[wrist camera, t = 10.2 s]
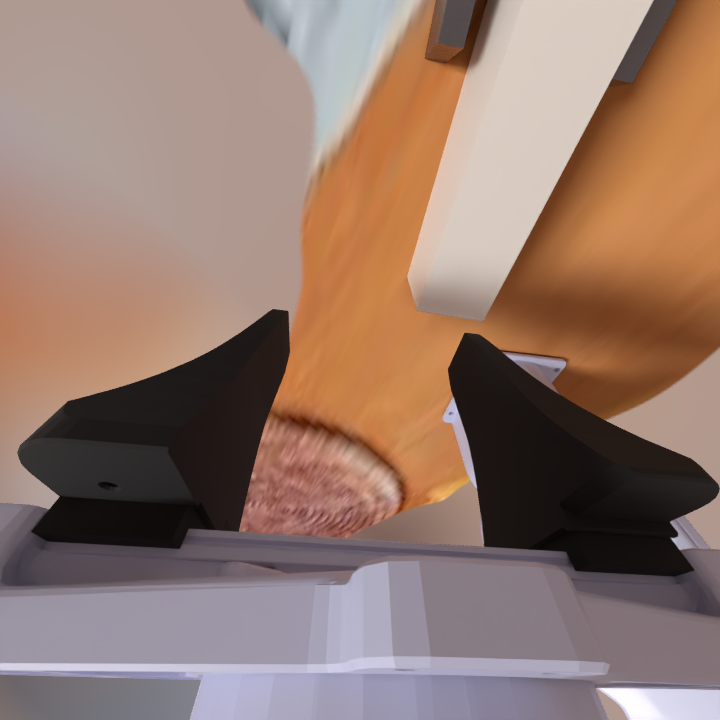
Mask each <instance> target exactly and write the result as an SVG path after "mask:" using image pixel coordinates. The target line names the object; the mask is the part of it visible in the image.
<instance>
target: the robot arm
mask: <svg viewBox="0 0 720 720" xmlns="http://www.w3.org/2000/svg"><path fill="white" fill-rule="evenodd" d="M289 353H290V343H289V316H288V311H284V310H276V309H272V310H271V311H269V312H268V313H267V314H265V315H264V316H263V317H261V318H260V319H259V320H257V321H256V322H255V323H253V324H252V325H251V326H249V327H248V328H246V329H245V330H244V331H242V332H241V333H239V334H238V335H236V336H234V337H233V338H232V339H230V340H228V341H227V342H225V343H223V344H222V345H220V346H218V347H217V348H215V349H213V350H211V351H210V352H208V353H206V354H204V355H202V356H200V357H198V358H196V359H194V360H192V361H189V362H187V363H185V364H182V365H180V366H177V367H175V368H173V369H171V370H168V371H166V372H164V373H161V374H158V375H155V376H152V377H150V378H147V379H144V380H141V381H138V382H135V383H132V384H129V385H125V386H122V387H119V388H116V389H112V390H109V391H105V392H101V393H97V394H94V395H90V396H86V397H82V398H79V399H75V400H71V401H68V402H67V403H66V404H65V405H63V406H62V407H61V408H60V409H59V410H58V411H57V412H56V413H55V414H54V415H53V416H52V417H51V418H49V419H48V420H47V421H46V422H45V423H44V424H43V425H42V426H41V427H40V428H38V429H37V430H36V431H35V432H34V433H33V434H32V435H31V436H30V437H29V438H28V439H27V440H25V441H24V442H23V443H22V444H21V445H20V447H19V450H18V452H17V453H18V456H19V459H20V462H21V464H22V465H23V466H24V467H25V468H26V469H27V470H28V471H29V472H30V473H31V474H32V475H34V476H35V477H36V478H38V479H39V480H40V481H41V482H42V483H44V484H45V485H46V486H47V487H49V488H50V489H51V490H52V491H54V492H55V493H56V494H57V495H59V496H60V497H59V498H58V500H57V501H56V502H55V503H54V504H53V506H52V507H51V508H50V509H49V510H47V509H46V508H42V507H39V506H33V505H25V504H24V505H23V504H8V503H0V675H36V676H38V675H39V676H74V677H111V678H112V677H113V678H147V679H184V680H185V679H186V680H201V683H200V687H199V690H198V693H197V697H196V700H195V704H194V707H193V710H192V714H191V717H190V720H608V718H607V715H606V713H605V710H604V708H603V705H602V703H601V701H600V698H599V696H598V693H597V691H596V689H595V688H597V689H599V690H600V691H602V692H603V693H604V694H606V695H607V696H608V697H610V698H611V699H612V700H614V701H615V702H616V703H617V704H618V705H620V706H621V708H622V709H623V711H624V713H625V715H626V716H627V718H628V720H720V550H716V549H715V550H714V549H711V548H710V547H709V546H708V544H707V543H706V542H705V541H704V539H703V538H702V537H701V536H700V534H699V533H698V532H697V531H696V530H695V528H694V527H693V526H692V525H691V523H690V522H689V521H688V520H687V519H686V517H685V516H684V515H686V514H688V513H690V512H692V511H694V510H697V509H699V508H701V507H702V506H704V505H706V504H708V503H710V502H711V501H712V500H713V499H715V498H716V496H717V495H718V493H719V489H720V488H719V485H718V484H717V483H716V482H715V480H714V479H713V478H712V477H711V476H710V475H709V474H708V473H707V472H705V470H704V469H703V468H702V467H701V466H700V465H698V464H697V463H696V462H695V461H693V460H692V459H691V458H688V457H686V456H683V455H681V454H678V453H676V452H674V451H671V450H669V449H666V448H664V447H662V446H659V445H657V444H654V443H652V442H649V441H647V440H645V439H642V438H640V437H638V436H636V435H634V434H632V433H630V432H628V431H626V430H623V429H621V428H619V427H617V426H615V425H613V424H611V423H609V422H607V421H605V420H603V419H601V418H599V417H597V416H596V415H594V414H592V413H590V412H588V411H587V410H585V409H583V408H581V407H579V406H578V405H576V404H574V403H572V402H571V401H569V400H567V399H566V398H564V397H563V396H561V395H560V394H559V393H558V391H557V390H556V388H555V387H554V386H553V384H552V382H553V381H554V380H555V378H556V377H557V376H558V375H559V374H560V372H561V371H562V370H563V369H564V367H565V366H566V362H565V360H564V359H560V358H551V357H543V356H534V355H526V354H518V353H509V352H501V351H500V350H499V349H498V348H497V347H495V346H494V345H493V344H492V343H490V342H489V341H488V340H486V339H485V338H484V337H482V336H481V335H479V334H471V333H464V335H463V338H462V340H461V342H460V344H459V346H458V348H457V351H456V353H455V355H454V357H453V359H452V362H451V364H450V366H449V368H448V373H449V380H450V386H451V391H452V394H453V397H452V399H451V401H450V403H449V405H448V407H447V409H446V411H445V413H444V415H443V417H442V418H443V421H444V422H447V423H452V425H453V428H454V431H455V435H456V438H457V442H458V445H459V448H460V452H461V455H462V458H463V462H464V465H465V469H466V472H467V474H468V476H469V478H470V480H471V482H472V483H473V484H474V486H475V487H476V488H477V491H478V498H479V505H480V512H481V516H480V529H481V535H482V540H483V543H484V547H478V546H463V545H446V544H429V543H413V542H397V541H381V540H365V539H349V538H333V537H316V536H300V535H284V534H268V533H251V532H239V528H240V523H241V519H242V514H243V509H244V505H245V500H246V496H247V492H248V488H249V483H250V479H251V475H252V471H253V467H254V463H255V459H256V455H257V451H258V447H259V444H260V440H261V436H262V433H263V429H264V426H265V423H266V420H267V417H268V414H269V412H270V409H271V407H272V404H273V402H274V399H275V396H276V394H277V391H278V389H279V386H280V384H281V381H282V379H283V376H284V373H285V370H286V366H287V362H288V357H289ZM284 573H287V574H284Z"/></svg>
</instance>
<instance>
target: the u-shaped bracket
mask: <svg viewBox="0 0 720 720" xmlns="http://www.w3.org/2000/svg"><path fill="white" fill-rule="evenodd" d="M475 1H476V0H436V3H435V8H434V14H433V19H432V24H431V29H430V34H429V39H428V44H427V49H426V55H425V59H430V60H435V61H440V62H445V63H446V62H447V61H449V60H450V59H451V58H452V57H454V56H455V55H456V54H457V53H458V52H460V51H461V50H462V49H463V48H464V45H465V41H466V37H467V33H468V29H469V25H470V21H471V17H472V13H473V9H474V5H475ZM676 2H677V0H653V2H652V4H651V6H650V8H649V10H648V12H647V14H646V15H645V17H644V19H643V21H642V23H641V25H640V27H639V29H638V31H637V32H636V34H635V36H634V38H633V40H632V42H631V44H630V46H629V48H628V49H627V51H626V53H625V55H624V57H623V59H622V61H621V63H620V64H619V66H618V68H617V70H616V72H615V74H614V76H613V78H612V80H611V81H610V83H609V85H608V87H612V86H618V85H624V84H630V83H633V81H634V79H635V77H636V75H637V73H638V72H639V70H640V68H641V66H642V64H643V62H644V61H645V59H646V57H647V55H648V53H649V51H650V50H651V48H652V46H653V44H654V42H655V40H656V39H657V37H658V35H659V33H660V31H661V29H662V28H663V26H664V24H665V22H666V20H667V18H668V17H669V15H670V13H671V11H672V9H673V7H674V6H675V4H676Z"/></svg>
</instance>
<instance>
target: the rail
mask: <svg viewBox="0 0 720 720" xmlns="http://www.w3.org/2000/svg"><path fill="white" fill-rule="evenodd" d="M652 2H653V0H487V4H486V7H485V10H484V14H483V17H482V21H481V24H480V28H479V31H478V35H477V38H476V42H475V45H474V48H473V52H472V55H471V59H470V62H469V66H468V69H467V73H466V76H465V79H464V83H463V86H462V90H461V93H460V97H459V100H458V104H457V107H456V111H455V114H454V117H453V121H452V124H451V128H450V131H449V135H448V138H447V142H446V145H445V148H444V152H443V155H442V159H441V162H440V166H439V169H438V173H437V176H436V180H435V183H434V186H433V190H432V193H431V197H430V200H429V204H428V207H427V211H426V214H425V217H424V221H423V224H422V228H421V231H420V235H419V238H418V242H417V245H416V249H415V252H414V255H413V259H412V262H411V266H410V269H409V273H408V276H407V278H408V281H409V285H410V288H411V291H412V295H413V298H414V302H415V305H416V309H417V311H420V312H426V313H432V314H439V315H445V316H451V317H458V318H464V319H471V320H477V321H484V319H485V317H486V315H487V313H488V311H489V309H490V308H491V306H492V304H493V302H494V300H495V298H496V296H497V294H498V293H499V291H500V289H501V287H502V285H503V283H504V281H505V279H506V277H507V276H508V274H509V272H510V270H511V268H512V266H513V264H514V262H515V260H516V259H517V257H518V255H519V253H520V251H521V249H522V247H523V245H524V244H525V242H526V240H527V238H528V236H529V234H530V232H531V230H532V228H533V227H534V225H535V223H536V221H537V219H538V217H539V215H540V213H541V211H542V210H543V208H544V206H545V204H546V202H547V200H548V198H549V196H550V195H551V193H552V191H553V189H554V187H555V185H556V183H557V181H558V179H559V178H560V176H561V174H562V172H563V170H564V168H565V166H566V164H567V162H568V161H569V159H570V157H571V155H572V153H573V151H574V149H575V147H576V146H577V144H578V142H579V140H580V138H581V136H582V134H583V132H584V130H585V129H586V127H587V125H588V123H589V121H590V119H591V117H592V115H593V113H594V112H595V110H596V108H597V106H598V104H599V102H600V100H601V98H602V97H603V95H604V93H605V91H606V89H607V87H608V85H609V83H610V81H611V80H612V78H613V76H614V74H615V72H616V70H617V68H618V66H619V64H620V63H621V61H622V59H623V57H624V55H625V53H626V51H627V49H628V48H629V46H630V44H631V42H632V40H633V38H634V36H635V34H636V32H637V31H638V29H639V27H640V25H641V23H642V21H643V19H644V17H645V15H646V14H647V12H648V10H649V8H650V6H651V4H652Z"/></svg>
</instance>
